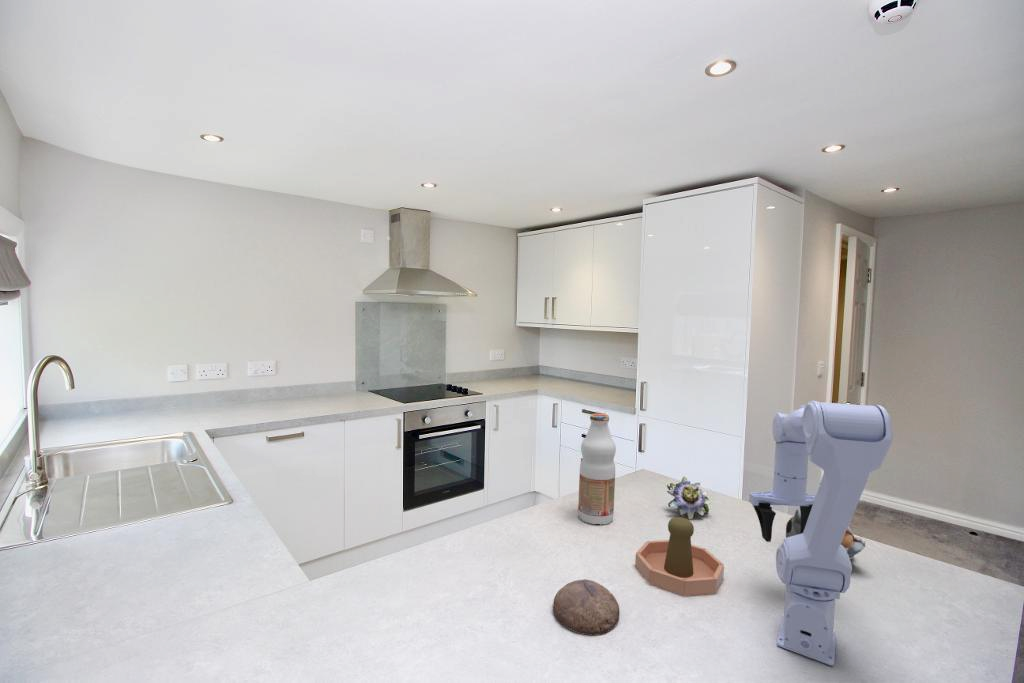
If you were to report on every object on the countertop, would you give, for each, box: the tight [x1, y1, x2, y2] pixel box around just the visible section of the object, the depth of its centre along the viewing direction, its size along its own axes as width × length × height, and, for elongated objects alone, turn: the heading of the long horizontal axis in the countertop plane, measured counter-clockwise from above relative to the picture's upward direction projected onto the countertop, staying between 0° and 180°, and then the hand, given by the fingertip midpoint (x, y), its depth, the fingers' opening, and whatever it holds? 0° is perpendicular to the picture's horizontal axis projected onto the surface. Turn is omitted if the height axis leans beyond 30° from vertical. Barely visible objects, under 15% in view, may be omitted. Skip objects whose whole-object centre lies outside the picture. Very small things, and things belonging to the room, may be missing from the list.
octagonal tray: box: [634, 539, 725, 597], centre depth 103 cm, size 17×17×3 cm
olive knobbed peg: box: [664, 516, 695, 578], centre depth 102 cm, size 6×6×11 cm
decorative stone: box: [552, 579, 621, 636], centre depth 87 cm, size 12×12×6 cm
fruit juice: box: [577, 413, 617, 525], centre depth 128 cm, size 9×9×28 cm
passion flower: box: [666, 476, 712, 521], centre depth 134 cm, size 11×11×12 cm
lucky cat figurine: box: [785, 507, 866, 561], centre depth 111 cm, size 15×12×14 cm
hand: (785, 540), depth 96 cm, fingers open, 7 cm apart
